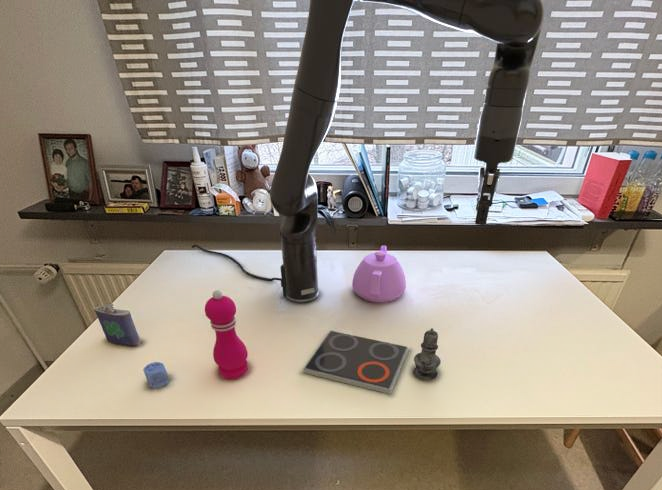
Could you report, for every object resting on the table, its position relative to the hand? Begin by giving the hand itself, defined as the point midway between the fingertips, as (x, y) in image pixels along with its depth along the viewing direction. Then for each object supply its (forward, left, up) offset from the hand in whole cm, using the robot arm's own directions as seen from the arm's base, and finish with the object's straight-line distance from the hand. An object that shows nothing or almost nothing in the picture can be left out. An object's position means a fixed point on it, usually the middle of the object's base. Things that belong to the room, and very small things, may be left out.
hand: (480, 217), depth 88 cm
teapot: (-25, +11, -29) cm, 39 cm away
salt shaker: (-4, -21, -29) cm, 36 cm away
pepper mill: (-45, -35, -29) cm, 64 cm away
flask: (-76, -35, -29) cm, 88 cm away
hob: (-20, -22, -28) cm, 41 cm away
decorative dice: (-58, -44, -29) cm, 78 cm away
